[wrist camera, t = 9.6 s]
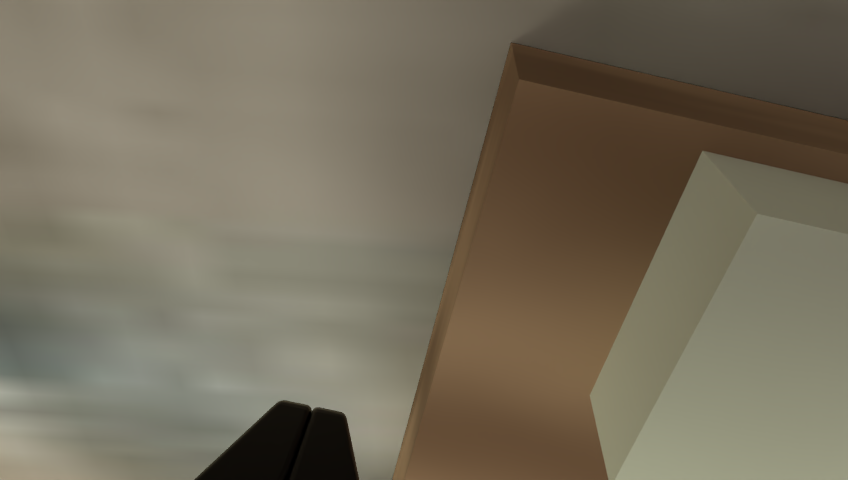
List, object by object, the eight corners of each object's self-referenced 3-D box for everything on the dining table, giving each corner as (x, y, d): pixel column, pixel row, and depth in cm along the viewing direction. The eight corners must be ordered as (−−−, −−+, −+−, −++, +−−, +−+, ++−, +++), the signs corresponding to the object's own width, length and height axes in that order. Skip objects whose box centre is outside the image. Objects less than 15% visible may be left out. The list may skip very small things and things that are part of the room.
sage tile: (801, 440, 14) (860, 539, 12) (589, 395, 14) (609, 487, 12) (968, 211, 11) (1085, 287, 9) (702, 150, 11) (757, 214, 9)
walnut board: (644, 605, 23) (666, 699, 20) (372, 551, 22) (359, 639, 20) (953, 145, 14) (1065, 205, 11) (511, 42, 13) (519, 78, 11)
